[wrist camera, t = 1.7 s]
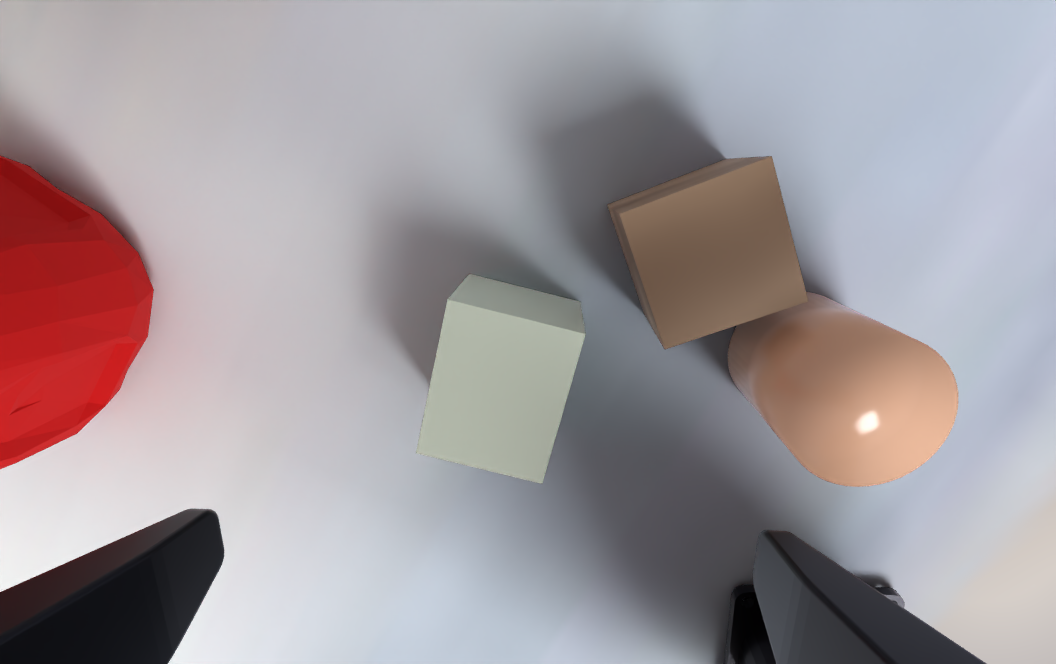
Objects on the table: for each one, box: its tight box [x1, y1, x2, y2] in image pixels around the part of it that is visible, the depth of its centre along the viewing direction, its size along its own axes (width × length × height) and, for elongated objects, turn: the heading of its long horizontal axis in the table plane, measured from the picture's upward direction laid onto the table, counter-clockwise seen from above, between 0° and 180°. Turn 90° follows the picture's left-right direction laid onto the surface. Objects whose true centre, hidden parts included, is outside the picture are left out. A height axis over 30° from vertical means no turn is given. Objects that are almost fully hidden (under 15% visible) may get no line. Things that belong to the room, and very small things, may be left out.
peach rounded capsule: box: [728, 292, 958, 487], centre depth 17 cm, size 4×4×5 cm
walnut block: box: [607, 156, 808, 349], centre depth 16 cm, size 4×4×4 cm
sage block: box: [416, 274, 586, 484], centre depth 18 cm, size 5×4×4 cm
